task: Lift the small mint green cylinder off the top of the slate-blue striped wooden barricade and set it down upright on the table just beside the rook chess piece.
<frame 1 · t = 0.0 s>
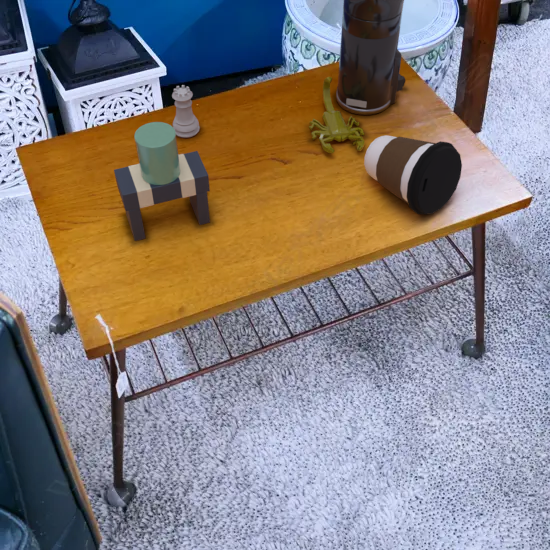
rook chess piece: (186, 131, 124), on the table
coffee cup: (376, 154, 114), point 3 cm above the table
scorpion: (334, 129, 124), on the table
mint green cylinder: (160, 172, 103), point 9 cm above the table, touching barricade
barricade: (168, 219, 110), on the table
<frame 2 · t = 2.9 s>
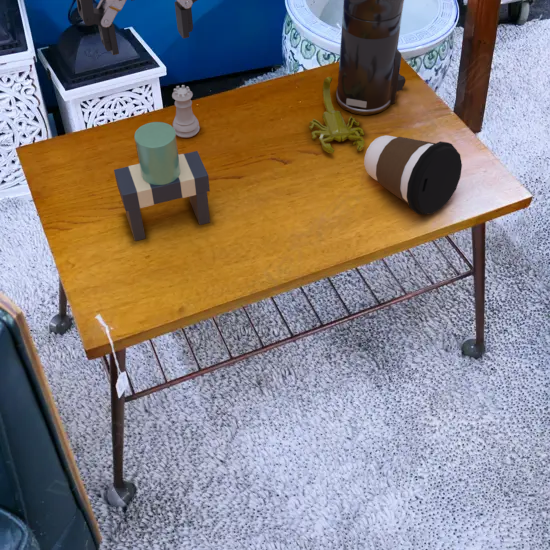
hand: (149, 42, 88), 29 cm above the table, tool pointing down, fingers open, 8 cm apart
nothing on the table moved.
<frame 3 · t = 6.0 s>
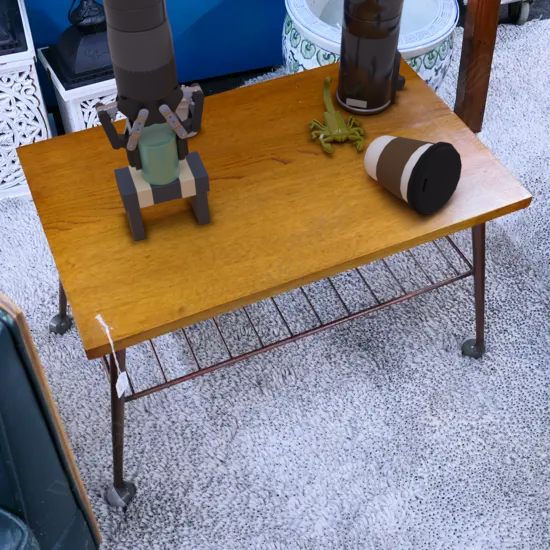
hand: (159, 161, 102), 11 cm above the table, tool pointing down, fingers closed on mint green cylinder, 5 cm apart
mint green cylinder: (160, 172, 103), point 9 cm above the table, touching barricade, gripper
everything else where it was.
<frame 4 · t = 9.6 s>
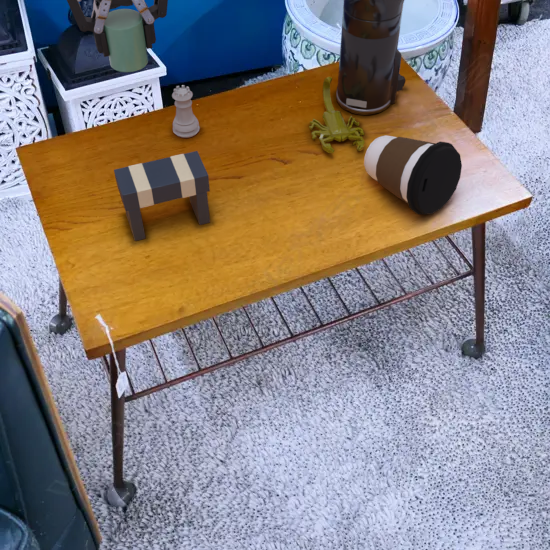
hand: (127, 49, 104), 20 cm above the table, tool pointing down, fingers closed on mint green cylinder, 5 cm apart
mint green cylinder: (129, 61, 105), point 18 cm above the table, touching gripper
everything else where it was.
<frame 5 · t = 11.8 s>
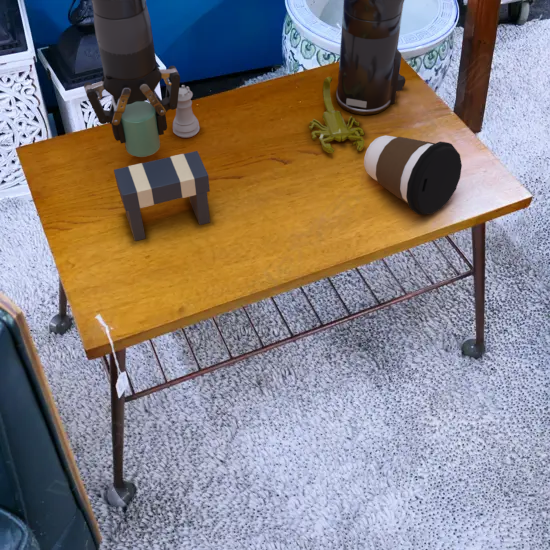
hand: (141, 135, 115), 5 cm above the table, tool pointing down, fingers closed on mint green cylinder, 5 cm apart
mint green cylinder: (142, 145, 117), point 3 cm above the table, touching gripper
everything else where it was.
when the fingers open (2 cm above the table, at t = 13.2 s): mint green cylinder stays where it is, on the table.
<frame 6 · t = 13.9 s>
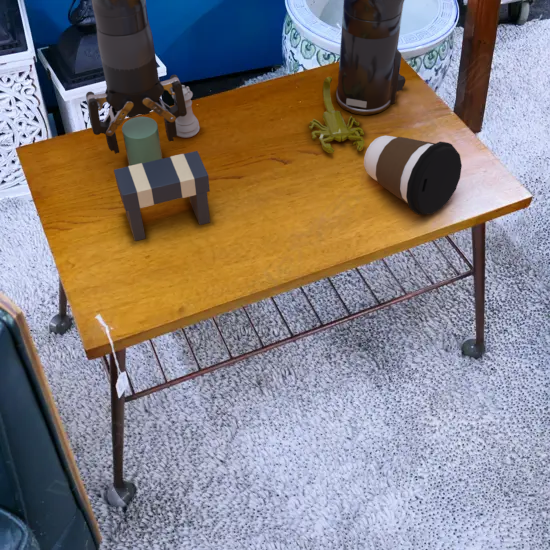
hand: (143, 144, 117), 3 cm above the table, tool pointing down, fingers open, 8 cm apart
mint green cylinder: (145, 160, 119), on the table
everything else where it was.
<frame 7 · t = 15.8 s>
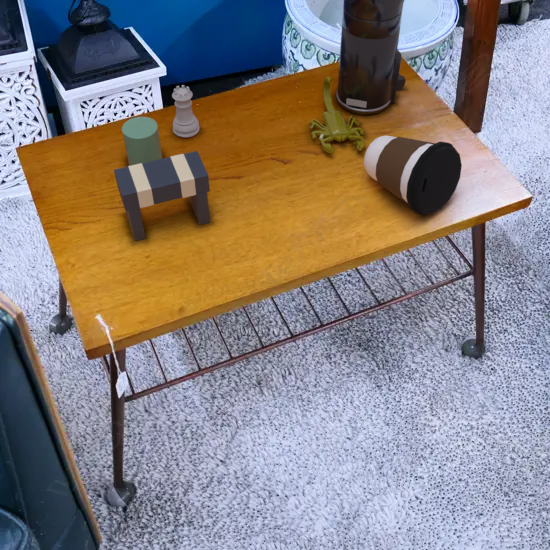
nothing on the table moved.
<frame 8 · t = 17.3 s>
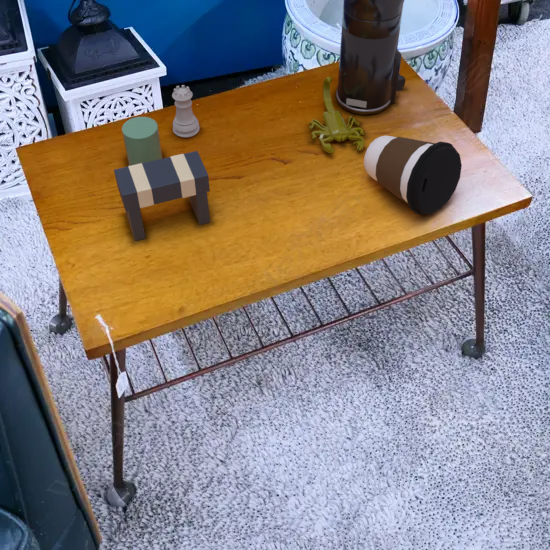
nothing on the table moved.
at the end: mint green cylinder inside the target area on the table beside the rook chess piece (0.1 cm from its centre), on the table; mint green cylinder tilted 0°; mint green cylinder touching table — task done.
